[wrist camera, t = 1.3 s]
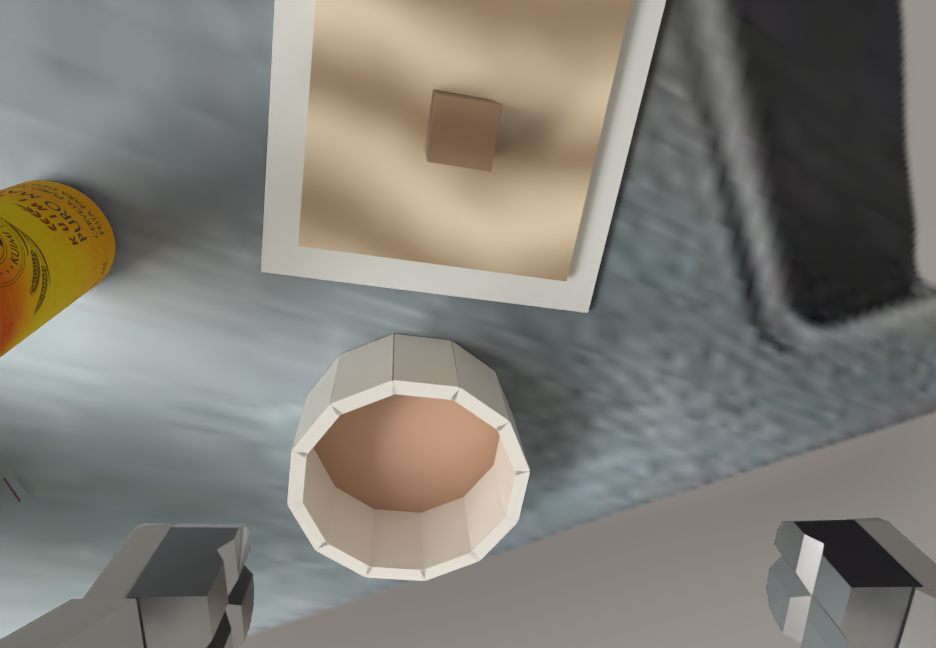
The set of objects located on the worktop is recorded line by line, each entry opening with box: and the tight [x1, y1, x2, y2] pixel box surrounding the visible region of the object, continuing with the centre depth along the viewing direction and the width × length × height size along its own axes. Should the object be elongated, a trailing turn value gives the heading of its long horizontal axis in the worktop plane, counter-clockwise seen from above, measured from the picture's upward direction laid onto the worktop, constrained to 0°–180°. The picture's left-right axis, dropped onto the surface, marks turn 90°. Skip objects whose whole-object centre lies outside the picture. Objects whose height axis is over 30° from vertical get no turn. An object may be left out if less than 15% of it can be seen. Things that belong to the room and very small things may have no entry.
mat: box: [261, 0, 666, 313], centre depth 34 cm, size 19×19×1 cm
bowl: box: [287, 334, 530, 581], centre depth 39 cm, size 13×13×6 cm
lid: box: [298, 0, 632, 281], centre depth 32 cm, size 15×15×5 cm
